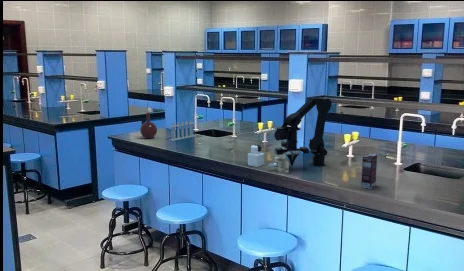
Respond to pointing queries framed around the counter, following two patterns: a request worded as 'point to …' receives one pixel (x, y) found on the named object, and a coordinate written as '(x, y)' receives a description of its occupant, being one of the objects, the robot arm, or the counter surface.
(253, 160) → the medicine bottle
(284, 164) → the block
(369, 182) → the supplement box
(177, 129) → the test tube rack
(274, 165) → the pin
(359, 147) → the counter surface
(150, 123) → the round-bottom flask
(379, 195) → the counter surface
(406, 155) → the counter surface
